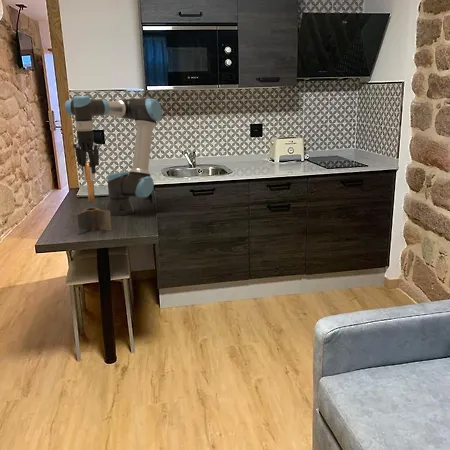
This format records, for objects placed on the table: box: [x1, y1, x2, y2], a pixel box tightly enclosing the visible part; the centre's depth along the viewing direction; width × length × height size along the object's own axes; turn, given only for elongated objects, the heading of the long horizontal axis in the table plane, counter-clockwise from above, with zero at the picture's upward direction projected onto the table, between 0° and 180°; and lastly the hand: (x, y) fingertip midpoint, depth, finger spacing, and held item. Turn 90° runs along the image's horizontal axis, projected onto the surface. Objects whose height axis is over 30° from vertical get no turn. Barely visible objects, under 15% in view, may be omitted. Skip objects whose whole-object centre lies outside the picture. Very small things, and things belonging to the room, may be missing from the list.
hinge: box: [75, 206, 112, 235], centre depth 232 cm, size 14×14×10 cm
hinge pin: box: [85, 161, 96, 203], centre depth 225 cm, size 3×3×19 cm
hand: (89, 179), depth 225 cm, fingers closed on hinge pin, 3 cm apart
